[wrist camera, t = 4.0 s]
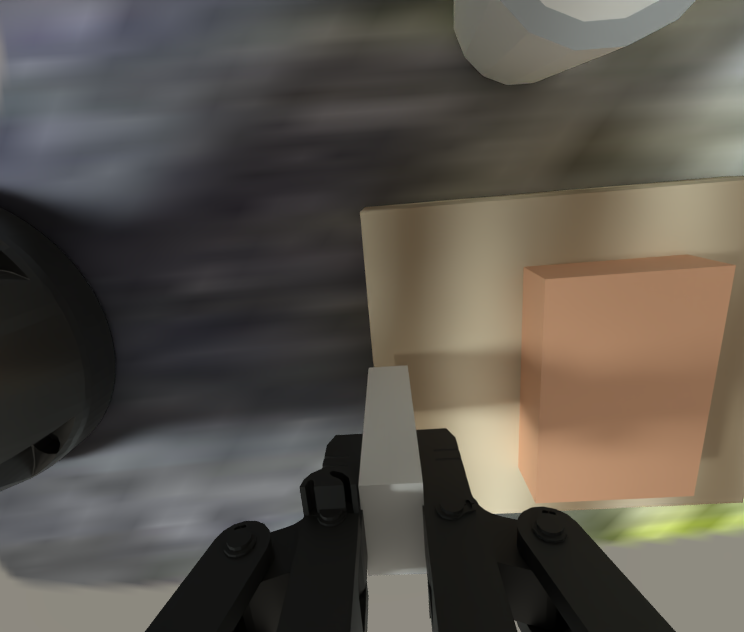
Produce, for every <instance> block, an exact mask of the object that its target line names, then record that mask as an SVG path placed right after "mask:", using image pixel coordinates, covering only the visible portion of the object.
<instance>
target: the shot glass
mask: <svg viewBox="0 0 744 632" xmlns="http://www.w3.org/2000/svg"><path fill="white" fill-rule="evenodd" d="M695 1H696V0H454V31H455V34H456V36H457V39H458V42H459V44H460V47H461V49H462V52H463V55H464V57H465V58H466V59H467V60H468V61H469V62H470V63H471V64H472V65H473V66H474V67H475V68H476V69H477V70H478V72H479V73H480V74H481V75H482V76H484V77H487V78H489V79H492V80H495V81H497V82H500V83H502V84H505V85H517V84H529V83H535V82H538V81H540V80H543V79H545V78H548V77H550V76H553V75H555V74H558V73H560V72H563V71H565V70H568V69H570V68H573V67H575V66H578V65H581V64H583V63H586V62H588V61H591V60H593V59H596V58H598V57H601V56H603V55H606V54H608V53H611V52H613V51H616V50H618V49H621V48H623V47H626V46H628V45H630V44H632V43H634V42H636V41H638V40H640V39H641V38H643V37H645V36H647V35H649V34H651V33H653V32H655V31H657V30H659V29H661V28H663V27H664V26H666V25H668V24H670V23H672V22H674V21H676V20H678V19H679V18H680V17H681V16H682V15H683V13H684V12H685V11H686V10H687V9H688V8H689V7H690V6H691V5H692V4H693V3H694V2H695Z"/></svg>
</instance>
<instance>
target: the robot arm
mask: <svg viewBox="0 0 744 632" xmlns="http://www.w3.org/2000/svg"><path fill="white" fill-rule="evenodd" d="M114 382H115V353H114V346H113V341H112V337H111V333H110V329H109V326H108V323H107V320H106V318H105V315H104V313H103V310H102V308H101V306H100V304H99V302H98V300H97V298H96V296H95V295H94V293H93V291H92V289H91V288H90V286H89V285H88V283H87V282H86V280H85V279H84V277H83V276H82V275H81V273H80V272H79V271H78V269H77V268H76V267H75V266H74V265H73V263H72V262H71V261H70V260H69V259H68V258H67V257H66V256H65V254H64V253H63V252H62V251H61V250H60V249H59V248H58V247H57V246H55V245H54V244H53V243H52V242H51V241H50V240H49V239H48V238H46V237H45V236H44V235H43V234H42V233H40V232H39V231H38V230H36V229H35V228H34V227H32V226H31V225H29V224H28V223H26V222H25V221H23V220H22V219H20V218H19V217H17V216H15V215H13V214H12V213H10V212H8V211H6V210H4V209H2V208H0V491H2V490H5V489H7V488H10V487H12V486H14V485H17V484H19V483H21V482H24V481H26V480H28V479H30V478H32V477H34V476H36V475H38V474H40V473H41V472H43V471H45V470H46V469H48V468H49V467H51V466H53V465H54V464H55V463H56V462H58V461H59V460H60V459H62V458H63V457H64V456H65V455H66V454H67V453H69V452H70V451H71V450H72V449H73V448H75V447H76V446H77V445H78V444H79V443H81V442H82V441H83V440H84V439H85V438H86V437H87V436H88V435H89V434H90V433H91V432H92V431H93V430H94V429H95V428H96V426H97V425H98V424H99V422H100V421H101V419H102V417H103V416H104V414H105V412H106V410H107V408H108V405H109V402H110V400H111V396H112V392H113V388H114ZM300 493H301V499H302V506H303V512H304V518H303V519H302V520H300V521H299V522H297V523H296V524H294V525H291V526H289V527H286V528H283V529H280V530H277V531H273V532H270V531H269V529H268V528H267V527H266V526H265V524H263V523H260V522H257V521H244V522H241V523H237V524H234V525H232V526H231V527H229V528H227V529H226V530H224V531H223V532H222V533H221V534H220V535H219V536H218V537H217V538H216V539H215V540H214V541H213V543H212V544H211V545H210V547H209V548H208V549H207V551H206V552H205V553H204V555H203V556H202V557H201V558H200V560H199V561H198V562H197V564H196V565H195V566H194V568H193V569H192V570H191V572H190V573H189V574H188V576H187V577H186V578H185V580H184V581H183V582H182V583H181V585H180V586H179V587H178V589H177V590H176V591H175V593H174V594H173V595H172V597H171V598H170V599H169V601H168V602H167V603H166V605H165V606H164V607H163V609H162V610H161V611H160V612H159V614H158V615H157V616H156V618H155V619H154V620H153V622H152V623H151V624H150V626H149V627H148V628H147V630H146V631H145V632H367V621H368V589H367V569H368V575H369V576H372V575H400V574H426V573H427V577H428V593H429V612H430V618H431V622H432V632H517V629H516V626H515V622H514V620H515V621H517V624H518V627H519V628H520V630H521V632H676V631H674V630H673V628H672V627H671V626H670V625H669V624H668V623H667V622H666V620H665V619H664V618H663V617H662V616H661V615H660V614H659V613H658V612H657V611H656V609H655V608H654V607H653V606H652V605H651V604H650V603H649V602H648V600H646V598H645V597H644V596H643V595H642V594H641V593H640V592H639V591H638V589H637V588H636V587H635V586H634V585H633V584H632V583H631V582H630V581H629V580H628V578H627V577H626V576H625V575H624V574H623V573H622V572H621V571H620V570H619V568H618V567H617V566H616V565H615V564H614V563H613V562H612V561H611V560H610V559H609V557H607V555H606V554H605V553H604V552H603V551H602V550H601V548H600V547H599V546H598V545H597V544H596V543H595V542H594V541H593V540H592V539H591V537H590V536H589V535H588V534H587V533H586V532H585V531H584V530H583V529H582V527H581V526H580V525H579V524H578V523H577V522H576V521H575V520H573V519H572V518H571V517H570V516H569V515H567V514H565V513H563V512H561V511H559V510H557V509H554V508H549V507H543V506H542V507H531V508H529V509H527V510H525V511H523V512H522V513H521V515H520V516H519V517H518V520H515V519H510V518H506V517H501V516H498V515H495V514H492V513H490V512H488V511H486V510H485V509H483V508H482V507H481V506H479V504H478V502H477V500H476V499H474V498H473V496H472V494H471V490H470V487H469V483H468V480H467V476H466V472H465V469H464V465H463V462H462V460H461V455H460V451H459V448H458V444H457V441H456V437H455V436H454V435H453V434H452V433H451V432H450V431H449V430H448V429H447V428H439V429H421V430H416V426H415V418H414V411H413V403H412V395H411V388H410V380H409V372H408V365H405V366H389V367H373V368H369V370H368V381H367V393H366V404H365V415H364V427H363V434H350V435H335V437H334V438H333V439H332V440H331V441H330V442H329V444H328V445H327V448H326V452H325V459H324V461H323V468H322V469H320V470H318V471H316V472H314V473H311V474H310V475H309V476H308V477H306V478H305V479H304V480H303V482H302V484H301V486H300Z"/></svg>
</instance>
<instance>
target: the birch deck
mask: <svg viewBox="0 0 744 632" xmlns="http://www.w3.org/2000/svg"><path fill="white" fill-rule="evenodd" d="M360 219H361V230H362V242H363V253H364V264H365V275H366V286H367V298H368V309H369V320H370V331H371V343H372V354H373V365H374V367H389V366H405V365H408V372H409V380H410V388H411V395H412V403H413V411H414V418H415V426H416V430H421V429H439V428H447V429H448V430H449V431H450V432H451V433H452V434H453V435H454V436H455V437H456V441H457V444H458V448H459V451H460V455H461V460H462V462H463V465H464V469H465V472H466V476H467V480H468V483H469V487H470V490H471V494H472V496H473V498H474V499H476V500H477V502H478V504H479V506H481V507H482V508H483V509H485V510H486V511H488V512H490V513H492V514H499V513H521V512H523V511H525V510H527V509H529V508H531V507H542V506H543V507H549V508H554V509H557V510H559V511H565V510H586V509H608V508H630V507H652V506H673V505H695V504H717V503H739V502H743V498H744V176H730V177H715V178H703V179H692V180H680V181H668V182H656V183H644V184H633V185H621V186H609V187H597V188H585V189H573V190H562V191H550V192H538V193H526V194H514V195H502V196H491V197H479V198H467V199H455V200H443V201H432V202H420V203H408V204H396V205H384V206H372V207H364V208H363V210H362V211H361V212H360ZM687 254H688V255H692V256H697V257H701V258H706V259H710V260H715V261H719V262H724V263H728V264H733V265H736V268H735V274H734V279H733V285H732V290H731V296H730V301H729V307H728V312H727V317H726V323H725V328H724V334H723V339H722V345H721V350H720V356H719V361H718V367H717V372H716V378H715V383H714V389H713V394H712V400H711V405H710V411H709V416H708V422H707V427H706V433H705V438H704V444H703V449H702V455H701V460H700V466H699V471H698V477H697V482H696V488H695V493H694V496H685V497H664V498H642V499H621V500H600V501H578V502H557V503H535V501H534V499H533V497H532V495H531V493H530V491H529V489H528V487H527V484H526V482H525V480H524V478H523V476H522V474H521V472H520V470H519V468H518V454H519V417H520V380H521V343H522V306H523V269H524V267H528V266H541V265H554V264H568V263H581V262H594V261H607V260H620V259H634V258H647V257H660V256H673V255H687Z"/></svg>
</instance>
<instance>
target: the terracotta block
mask: <svg viewBox="0 0 744 632" xmlns="http://www.w3.org/2000/svg"><path fill="white" fill-rule="evenodd" d="M735 268H736V265H733V264H728V263H724V262H719V261H715V260H710V259H706V258H701V257H697V256H692V255H688V254H687V255H673V256H660V257H647V258H634V259H620V260H607V261H594V262H581V263H568V264H554V265H541V266H528V267H524V269H523V306H522V343H521V380H520V417H519V454H518V468H519V470H520V472H521V474H522V476H523V478H524V480H525V482H526V484H527V487H528V489H529V491H530V493H531V495H532V497H533V499H534V501H535V503H557V502H578V501H600V500H621V499H642V498H664V497H685V496H694V493H695V488H696V482H697V477H698V471H699V466H700V460H701V455H702V449H703V444H704V438H705V433H706V427H707V422H708V416H709V411H710V405H711V400H712V394H713V389H714V383H715V378H716V372H717V367H718V361H719V356H720V350H721V345H722V339H723V334H724V328H725V323H726V317H727V312H728V307H729V301H730V296H731V290H732V285H733V279H734V274H735Z"/></svg>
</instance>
